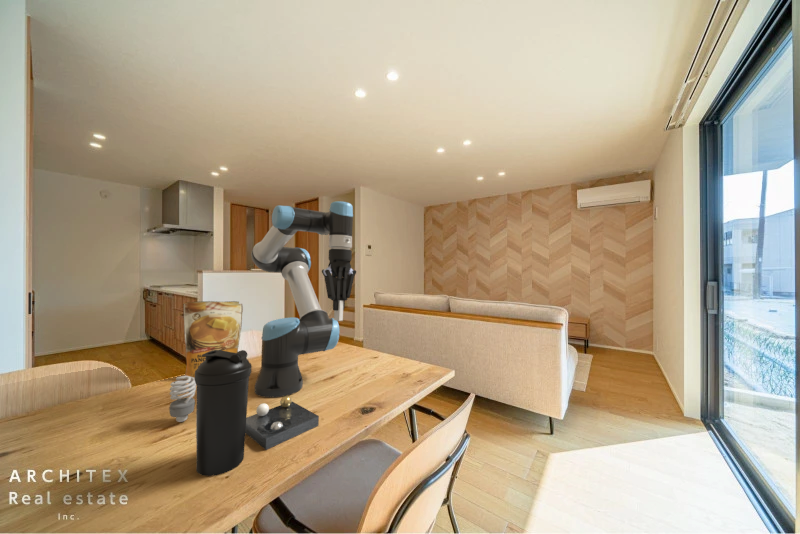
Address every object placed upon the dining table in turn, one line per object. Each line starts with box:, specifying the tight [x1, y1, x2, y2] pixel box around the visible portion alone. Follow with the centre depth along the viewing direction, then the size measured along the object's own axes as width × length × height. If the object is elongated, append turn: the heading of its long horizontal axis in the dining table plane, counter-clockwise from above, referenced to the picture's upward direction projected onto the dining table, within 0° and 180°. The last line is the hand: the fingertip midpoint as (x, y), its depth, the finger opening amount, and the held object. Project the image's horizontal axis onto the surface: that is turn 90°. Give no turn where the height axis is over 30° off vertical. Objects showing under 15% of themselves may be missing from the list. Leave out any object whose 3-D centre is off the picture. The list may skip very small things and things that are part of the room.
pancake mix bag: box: [182, 300, 244, 381], centre depth 109 cm, size 7×19×28 cm, turn 115°
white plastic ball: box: [256, 403, 270, 416], centre depth 76 cm, size 3×3×3 cm
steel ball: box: [270, 421, 284, 431], centre depth 71 cm, size 3×3×3 cm
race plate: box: [245, 401, 320, 451], centre depth 75 cm, size 13×14×2 cm
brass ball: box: [279, 395, 293, 407], centre depth 81 cm, size 3×3×3 cm
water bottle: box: [194, 349, 252, 477], centre depth 61 cm, size 10×10×23 cm
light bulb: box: [169, 375, 197, 423], centre depth 76 cm, size 6×6×12 cm
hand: (338, 320), depth 96 cm, fingers closed
